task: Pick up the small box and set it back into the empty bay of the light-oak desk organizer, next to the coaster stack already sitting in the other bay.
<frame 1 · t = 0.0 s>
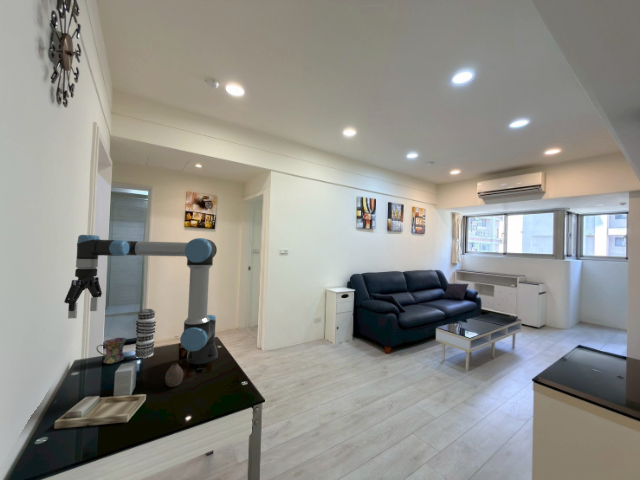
hand: (83, 314, 117), 28 cm above the table, fingers open, 13 cm apart
decorative candle: (144, 356, 140), on the table
organizer: (104, 413, 91), on the table
mug: (110, 362, 131), on the table
vase: (173, 385, 110), on the table
small box: (124, 393, 103), on the table
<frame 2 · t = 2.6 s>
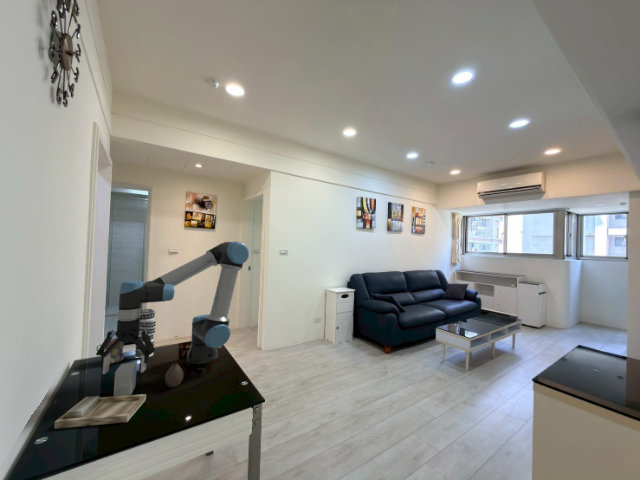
hand: (124, 371, 103), 9 cm above the table, fingers open, 13 cm apart
nothing on the table moved.
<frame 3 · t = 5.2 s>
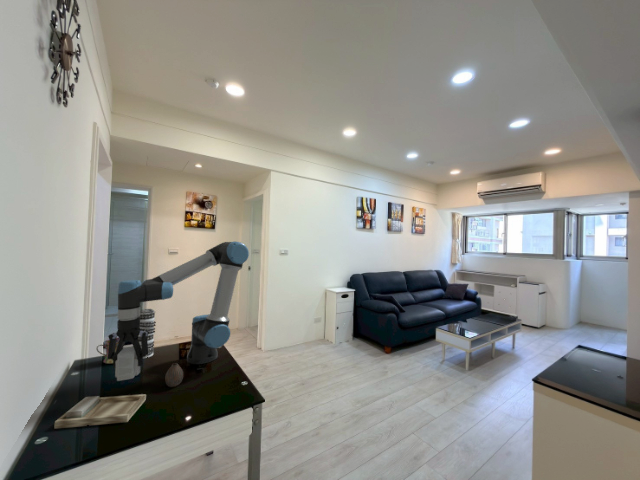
hand: (128, 374, 104), 7 cm above the table, fingers closed on small box, 6 cm apart
small box: (128, 375, 104), point 7 cm above the table, touching gripper
everything else where it was.
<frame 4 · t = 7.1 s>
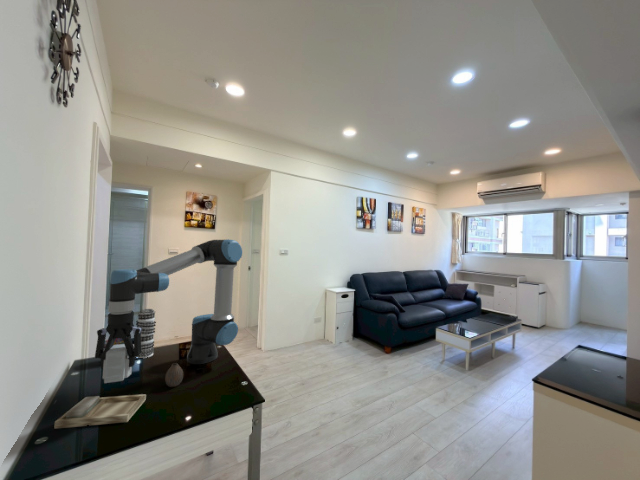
hand: (117, 376, 92), 13 cm above the table, fingers closed on small box, 6 cm apart
small box: (117, 377, 92), point 12 cm above the table, touching gripper
everything else where it was.
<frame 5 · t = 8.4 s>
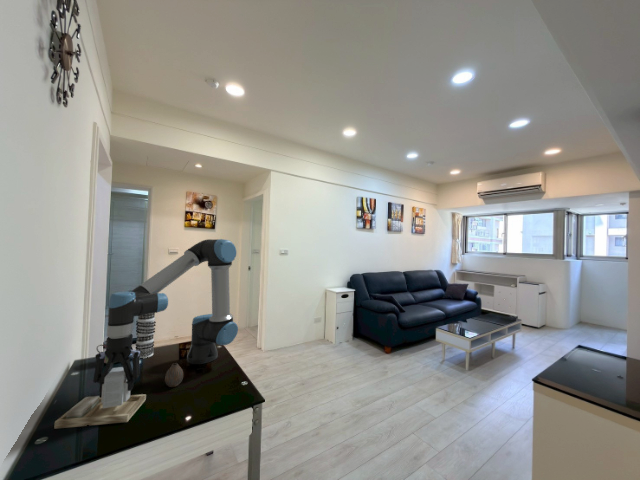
hand: (115, 400, 91), 4 cm above the table, fingers closed on small box, 6 cm apart
small box: (115, 401, 91), point 4 cm above the table, touching gripper
everything else where it was.
when the fingers open (3 cm above the table, at t = 9.3 s): small box drops 2 cm, resting on organizer.
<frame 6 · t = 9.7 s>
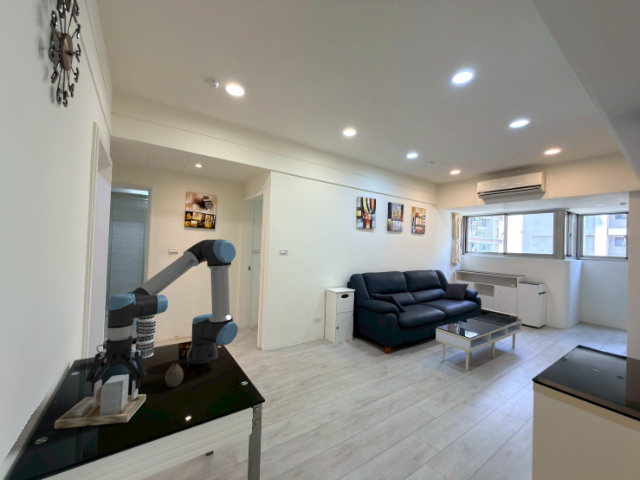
hand: (116, 398, 91), 5 cm above the table, fingers open, 11 cm apart
small box: (114, 410, 91), point 1 cm above the table, touching organizer
everything else where it was.
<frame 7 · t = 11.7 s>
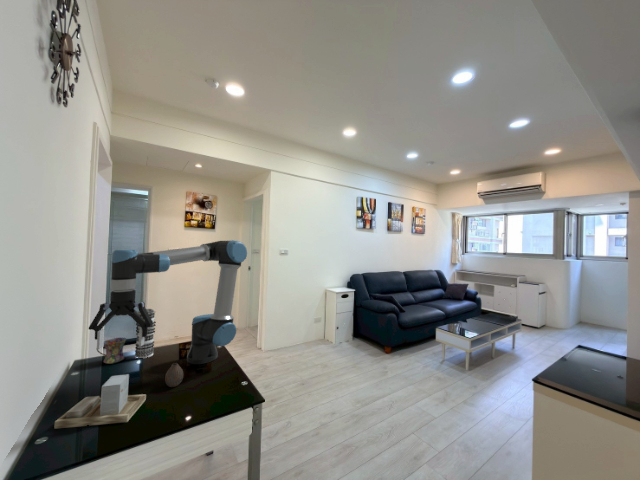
hand: (121, 346, 96), 22 cm above the table, fingers open, 13 cm apart
nothing on the table moved.
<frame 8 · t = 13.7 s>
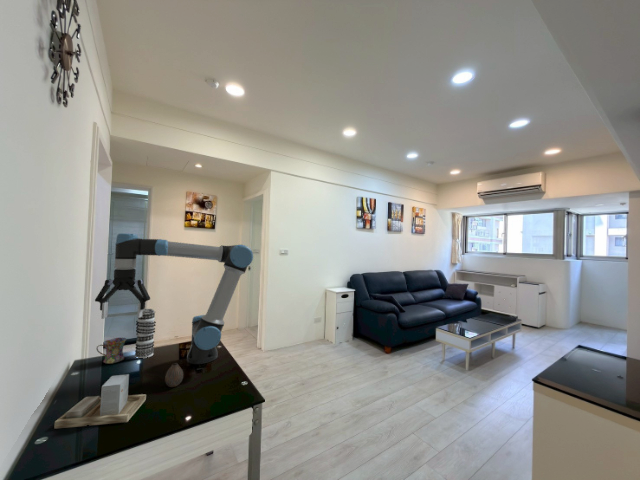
hand: (122, 317, 110), 29 cm above the table, fingers open, 13 cm apart
nothing on the table moved.
at the end: small box inside the target area on the organizer (0.5 cm from its centre), point 0.6 cm above the organizer's base; small box tilted 0°; the gripper is holding nothing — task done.
